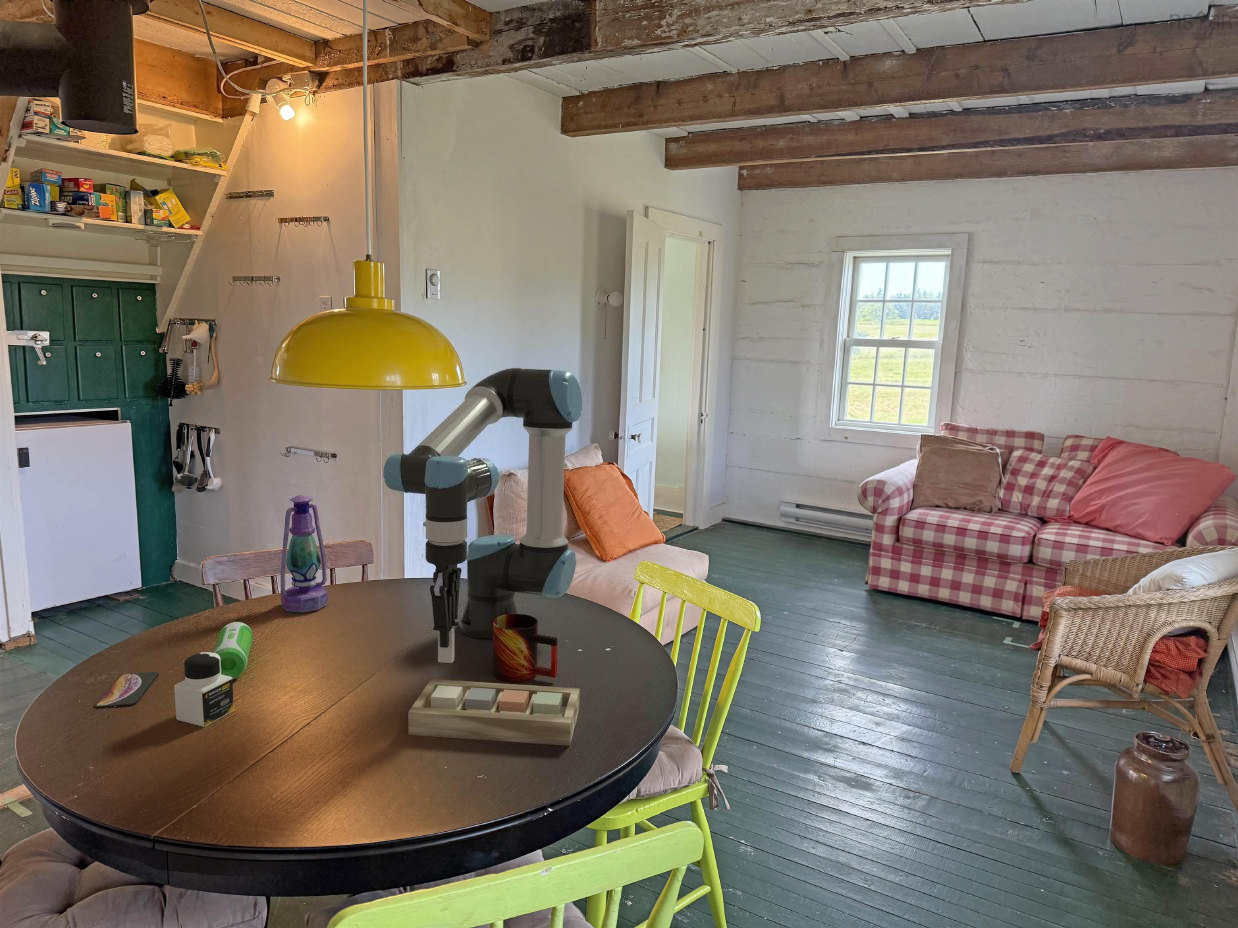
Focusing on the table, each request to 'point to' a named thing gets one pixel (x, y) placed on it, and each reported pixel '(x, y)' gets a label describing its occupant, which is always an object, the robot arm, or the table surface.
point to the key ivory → (446, 696)
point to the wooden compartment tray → (495, 716)
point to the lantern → (303, 559)
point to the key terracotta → (514, 701)
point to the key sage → (547, 703)
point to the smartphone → (127, 690)
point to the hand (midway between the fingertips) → (446, 660)
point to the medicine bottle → (203, 691)
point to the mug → (520, 649)
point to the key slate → (480, 698)
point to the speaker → (234, 648)
